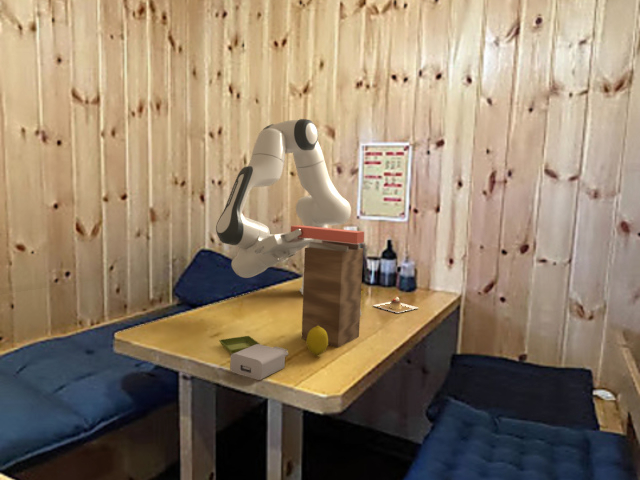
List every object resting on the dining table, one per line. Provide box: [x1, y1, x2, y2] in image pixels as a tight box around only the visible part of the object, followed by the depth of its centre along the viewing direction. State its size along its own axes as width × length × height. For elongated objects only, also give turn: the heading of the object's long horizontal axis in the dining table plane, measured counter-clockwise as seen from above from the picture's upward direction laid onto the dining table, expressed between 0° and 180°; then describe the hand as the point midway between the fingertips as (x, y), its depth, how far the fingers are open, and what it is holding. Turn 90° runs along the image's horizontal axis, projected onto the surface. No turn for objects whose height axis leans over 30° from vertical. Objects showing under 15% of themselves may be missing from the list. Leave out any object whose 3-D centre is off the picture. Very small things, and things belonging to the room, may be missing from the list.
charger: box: [229, 343, 289, 381], centre depth 119 cm, size 5×9×15 cm
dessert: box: [371, 296, 419, 314], centre depth 180 cm, size 12×12×5 cm
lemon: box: [306, 326, 329, 357], centre depth 127 cm, size 6×6×8 cm
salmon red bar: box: [290, 224, 365, 244], centre depth 141 cm, size 4×22×3 cm, turn 57°
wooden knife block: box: [301, 240, 364, 348], centre depth 141 cm, size 12×12×28 cm
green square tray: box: [218, 335, 260, 355], centre depth 131 cm, size 9×9×2 cm
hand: (306, 230), depth 144 cm, fingers closed on salmon red bar, 4 cm apart
